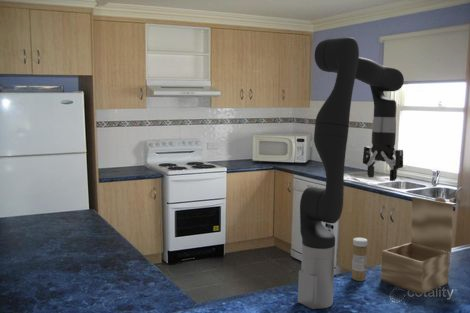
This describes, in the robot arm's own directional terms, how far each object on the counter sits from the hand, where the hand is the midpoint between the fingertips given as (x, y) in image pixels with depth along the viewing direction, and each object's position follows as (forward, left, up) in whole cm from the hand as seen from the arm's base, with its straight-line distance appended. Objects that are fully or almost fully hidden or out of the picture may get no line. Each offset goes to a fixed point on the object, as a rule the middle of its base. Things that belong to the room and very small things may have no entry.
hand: (381, 178), depth 158 cm
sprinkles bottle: (-11, -1, -32) cm, 34 cm away
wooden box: (+2, -13, -32) cm, 35 cm away
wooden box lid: (+10, -13, -14) cm, 21 cm away
